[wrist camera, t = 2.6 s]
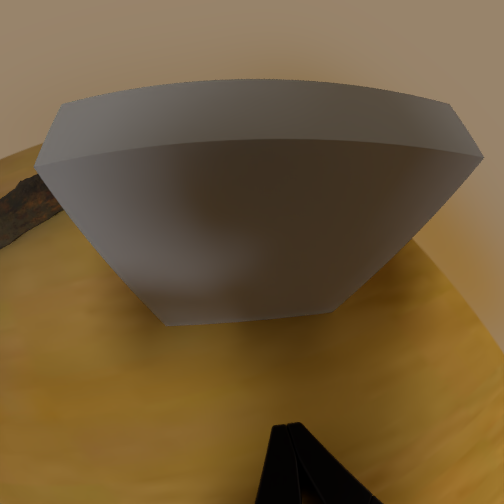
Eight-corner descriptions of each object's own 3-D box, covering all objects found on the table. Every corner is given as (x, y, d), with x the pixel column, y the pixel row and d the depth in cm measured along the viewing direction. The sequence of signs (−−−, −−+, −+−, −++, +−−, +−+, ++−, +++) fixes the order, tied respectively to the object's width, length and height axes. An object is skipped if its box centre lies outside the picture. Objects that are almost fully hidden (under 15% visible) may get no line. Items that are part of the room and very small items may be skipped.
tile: (331, 312, 18) (484, 157, 6) (166, 326, 17) (33, 167, 5) (325, 277, 19) (444, 97, 7) (165, 289, 18) (65, 96, 6)
